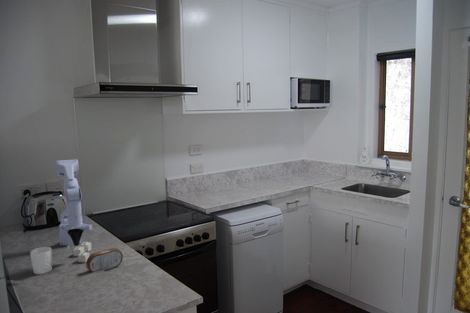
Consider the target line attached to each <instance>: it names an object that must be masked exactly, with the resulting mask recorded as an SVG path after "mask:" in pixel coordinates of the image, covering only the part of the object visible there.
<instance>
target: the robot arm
mask: <svg viewBox="0 0 470 313" xmlns="http://www.w3.org/2000/svg"><path fill="white" fill-rule="evenodd" d="M55 168H56V170H55V171H56V175H57V177H59V178H61V179H62V181H63V191H64V204H65V209H64V210H63V211H62V212H61V213H60V214H59V215H60V218H59V219H60V224H59V225H58V228H59V229H58V230H59V232H58V240H59V246H69V247H71V246H75V247H79V246H80V245H81V244H82V236H83V233H84V231H91V230H93V225H92V224H87V223H83V216H82V215H83V213H82V202H81V201H82V200H83V199H82V198H83V197H82V190H81V187H80V185H79V182H78V179H77V178H76V177H75V176H77V175H78V173H79V170H80V167H79V160H78V159H77V158H75V159H64V160H63V159H62V160H60V159H59V160H56V161H55Z"/></svg>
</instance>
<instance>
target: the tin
mask: <svg viewBox="0 0 470 313" xmlns="http://www.w3.org/2000/svg"><path fill="white" fill-rule="evenodd" d="M123 259H124V258H123V253H122V251H121V250H120V249H119V248H117V247H116V248H115V247H112V248H108V249H104V250H100V251H96V252H93V253H91V254H89V258H88V259H87V262H85V265H86V268H87V269H88V271H89V272H91V273H94V272H97V271H100V270H103V269H104V270H103V272H105V271H109V270H112V269H115V268H117V267H119V266H120V265H121V263H122V262H123Z"/></svg>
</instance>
